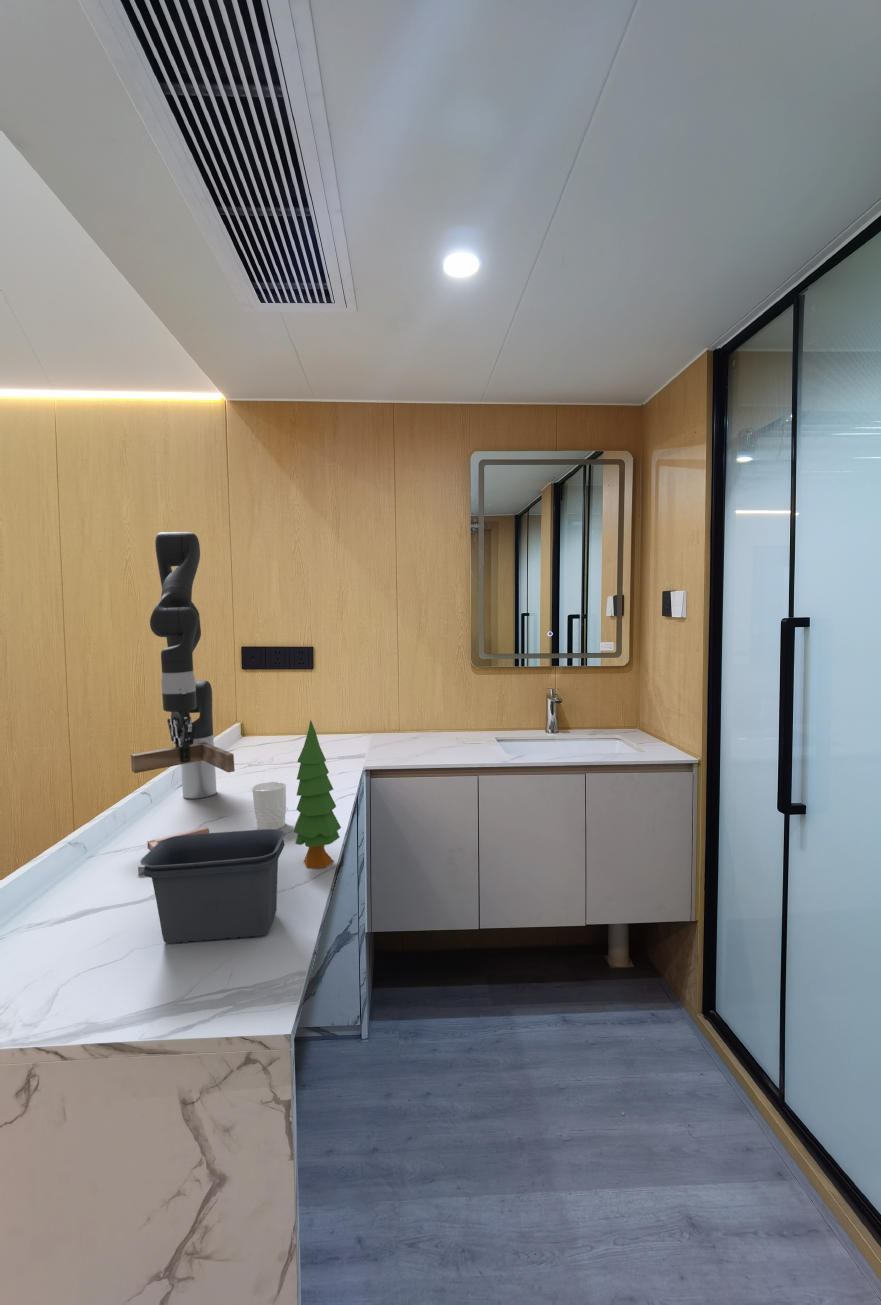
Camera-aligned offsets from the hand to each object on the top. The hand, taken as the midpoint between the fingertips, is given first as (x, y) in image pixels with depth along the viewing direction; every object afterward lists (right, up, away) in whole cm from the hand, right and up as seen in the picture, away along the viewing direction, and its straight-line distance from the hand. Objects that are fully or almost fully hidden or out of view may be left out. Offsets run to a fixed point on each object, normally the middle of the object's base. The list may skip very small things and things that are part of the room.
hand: (183, 760), depth 154 cm
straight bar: (+9, -19, -23) cm, 31 cm away
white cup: (+21, -16, +1) cm, 27 cm away
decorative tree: (+37, -18, -23) cm, 47 cm away
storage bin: (+26, -20, -48) cm, 58 cm away
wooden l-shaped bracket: (+3, -1, -8) cm, 9 cm away
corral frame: (+7, -18, -11) cm, 22 cm away
